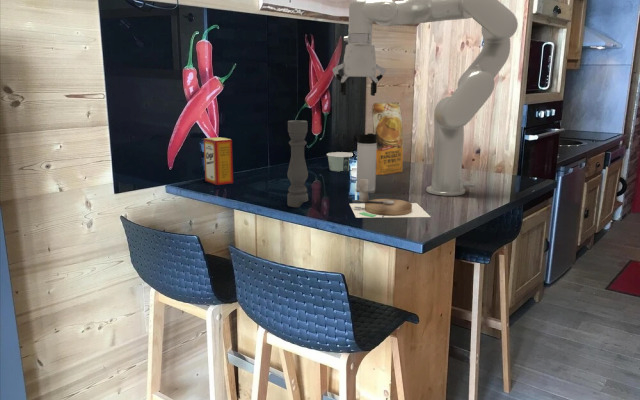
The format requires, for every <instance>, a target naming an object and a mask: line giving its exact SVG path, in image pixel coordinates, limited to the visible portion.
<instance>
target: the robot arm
mask: <svg viewBox="0 0 640 400" xmlns="http://www.w3.org/2000/svg"><path fill="white" fill-rule="evenodd" d="M467 19H468V20H469V19H473V20H474V21H475V22H476V23H478V24H479V25H480V26H481V29H480V30H481V34H482V35H481V36H482V38H483V46H482V49H481V51H480V52H479V54H477V56H476V58H475V59H474V60H473V61H472V63H471V64H470V65H469V66H468V68H467V69H466V70H465V71H464V72H463V73H462V74H461V76H460V77H459V79H458V81H457V87H456V89H455V90H454V92H453V93H452V94H451V96H445V97H443V98H441V99H440V100H439V101H438V102H437V104H436V105H435V107H434V112H433V122H434V123H433V128H434V129H433V130H434V131H433V133H434V134H433V135H434V136H433V148H432V149H433V150H432V153H433V155H432V169H431V171H432V173H431V185H429V186H426V192H427V193H429V194H432V195H437V196H444V197H445V196H447V197H449V196H451V197H452V196H453V197H454V196H462V195H464V194H465V193H466V188H475V187H476V181H469V180H464V179H463V178H462V167H463V152H464V142H465V140H464V139H465V138H464V137H465V128H464V127H465V126H466V125H467V124H469V123H470V121H471V120H472V119H473V118H474V117H475V116H476V114H477V113H478V112H479V111H480V109H481V108H482V107H483V106H484V105H485V103H486V102H487V101H488V99H489V98H490V97H491V96H492V94H493V91H494V90H495V86H496V85H495V84H496V83H495V78H496V77H497V76H498V74H499V73H500V71H501V70H502V69H503V67H504V66H505V65H506V62H508V59H509V56H510V53H511V52H510V51H511V38H513V36H514V35H515V33H516V32H517V30H518V25H519V22H518V19H517V17H516V15H515V13H514V12H512V11H511V10H510V9H509V8H508V7H507V6H505V4H503V3H502V2H501V1H499V0H398V1H395V0H351V1H350V2H349V6H348V34H347V36H343V41H344V42H346V43H347V44H346V45H345V47H344V56H343V62H341V64H338V65H336V66H335V67H333V68H332V69H331V70H332V73H333V74H334V77H335V78H336V80H338V82H339V84H340V85H339V88H340V91H339V93H341V96H346V94H347V83H346V80H347V79H348V78H349V77H354V78H358V77H359V78H366V77H367V78H369V79H370V80H371V83H370V96H373V97H374V96H376V93H377V89H378V87H377V85H378V83H379V81H380V80H381V79H382V78H383V77H384V75H385V73H386V72H387V71H386V68H383V67H382V66H380V65H378V64H377V61H376V60H377V59H376V49H375V45H373V41H372V40H373V23H376V24H377V25H378V26H381V27H390V26H402V25H410V24H411V25H413V24H425V23H435V22H444V21H457V20H458V21H459V20H467ZM340 70H342V74H343V75H342V76H341V75H340V74H339V71H340ZM377 71H379V73H378V75H377V76H376V74H377Z"/></svg>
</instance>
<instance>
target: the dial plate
mask: <svg viewBox="0 0 640 400" xmlns="http://www.w3.org/2000/svg"><path fill="white" fill-rule="evenodd" d="M410 203H411V202H410ZM411 204H412V211H411V212H410V213H407V214H402V215H381V214H375V213H371V212H368V211H366V210H365V203H349V206H350V208H351V210H352V213H353V214H354V217H355V218H357V219H358V218H359V219H360V218H371V219H373V218H431V215H430V214H429V213H428V212H426V210H424V209H423V207H421V206H420V205H419V204H418V203H417V202H412V203H411Z"/></svg>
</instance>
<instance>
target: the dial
mask: <svg viewBox="0 0 640 400" xmlns="http://www.w3.org/2000/svg"><path fill="white" fill-rule="evenodd" d="M358 193H359V194H358V195H359V196H358V197H359V198H358V199H352V203H357V204H360V203H365V210H366V211H368V212H371V213H375V214H381V215H402V214H407V213H410V212H411V211H412V204H411V202H409V201H407V200H402V199H395V198H376V199H370V200H369V196H368V195H369V193H368V179H360V186H359V192H358Z"/></svg>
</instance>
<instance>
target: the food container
mask: <svg viewBox="0 0 640 400" xmlns="http://www.w3.org/2000/svg"><path fill="white" fill-rule="evenodd" d="M326 156H327V159H328V160H327V161H328V166H329V167H328V168H329V170H330V171H333V172H340V171H344V172H350V171H349V159H350V157H352V156H353V152H343V151H341V152H340V151H336V152H333V151H332V152H328V153H326Z"/></svg>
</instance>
